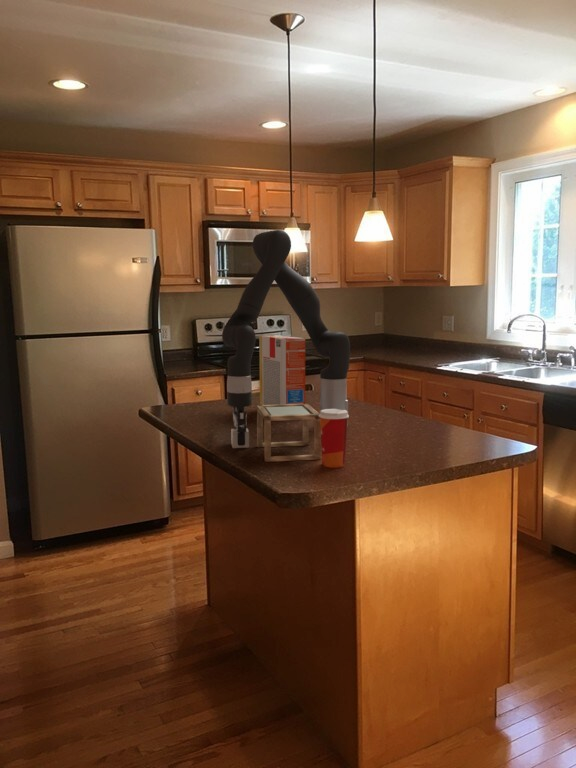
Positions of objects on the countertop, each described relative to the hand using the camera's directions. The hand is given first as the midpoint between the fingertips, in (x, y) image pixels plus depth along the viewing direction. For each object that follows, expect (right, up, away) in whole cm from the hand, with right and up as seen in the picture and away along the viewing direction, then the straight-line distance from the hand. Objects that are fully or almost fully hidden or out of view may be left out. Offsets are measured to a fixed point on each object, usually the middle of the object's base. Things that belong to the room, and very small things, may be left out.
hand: (240, 442), depth 200 cm
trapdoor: (+15, +9, -10) cm, 20 cm away
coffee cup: (+27, -4, -22) cm, 35 cm away
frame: (+15, -2, -8) cm, 17 cm away
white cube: (0, -1, 0) cm, 1 cm away
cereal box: (+12, +6, +52) cm, 54 cm away
